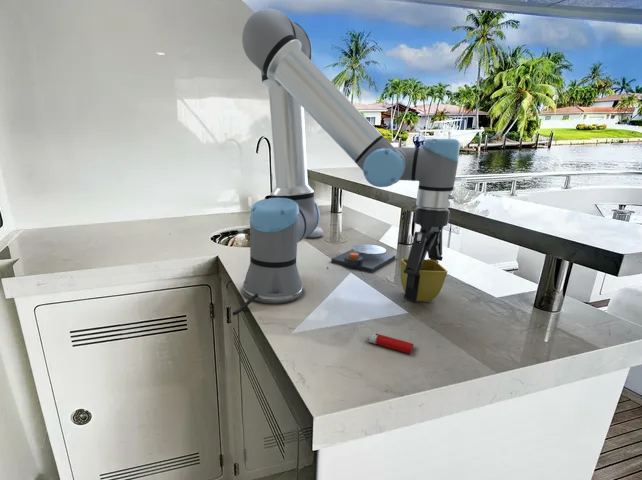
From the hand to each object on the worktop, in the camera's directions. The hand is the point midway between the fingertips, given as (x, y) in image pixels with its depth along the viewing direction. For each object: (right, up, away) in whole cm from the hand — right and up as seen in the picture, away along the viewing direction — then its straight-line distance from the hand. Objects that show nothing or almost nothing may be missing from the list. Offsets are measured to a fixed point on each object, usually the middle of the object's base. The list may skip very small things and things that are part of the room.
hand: (420, 291), depth 96 cm
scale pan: (-5, +12, +29) cm, 32 cm away
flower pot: (0, -2, +1) cm, 2 cm away
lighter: (-14, -9, -21) cm, 28 cm away
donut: (-22, +19, +58) cm, 64 cm away
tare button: (-12, +9, +22) cm, 26 cm away
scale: (-7, +8, +28) cm, 30 cm away
